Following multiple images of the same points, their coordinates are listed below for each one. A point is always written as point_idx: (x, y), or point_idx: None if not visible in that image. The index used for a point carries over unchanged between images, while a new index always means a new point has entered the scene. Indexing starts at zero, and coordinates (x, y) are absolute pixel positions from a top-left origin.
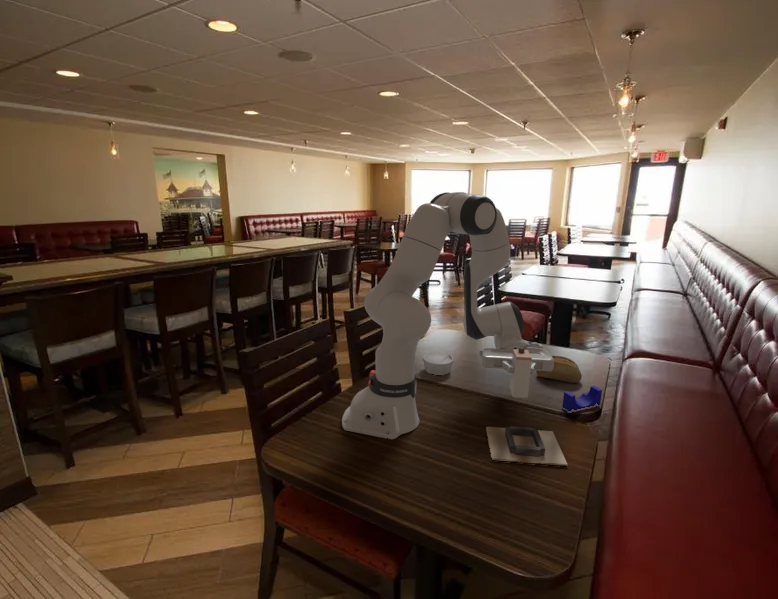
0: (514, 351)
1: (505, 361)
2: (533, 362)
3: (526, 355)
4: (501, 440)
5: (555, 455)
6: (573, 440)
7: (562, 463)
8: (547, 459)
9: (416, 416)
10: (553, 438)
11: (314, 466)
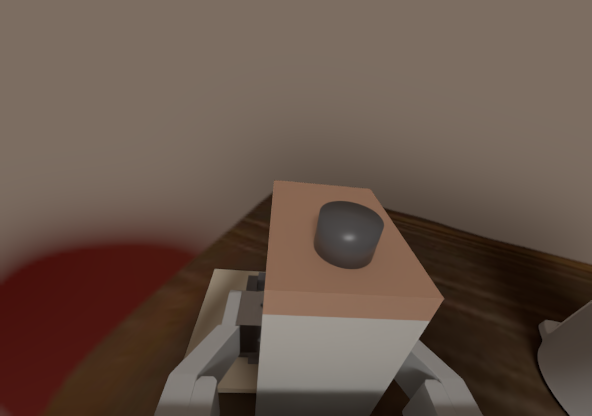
0: (407, 249)
1: (446, 392)
2: (176, 403)
3: (304, 198)
4: None
5: (225, 288)
6: (131, 361)
7: (223, 269)
8: (246, 277)
9: (574, 381)
10: (194, 348)
11: (561, 263)
